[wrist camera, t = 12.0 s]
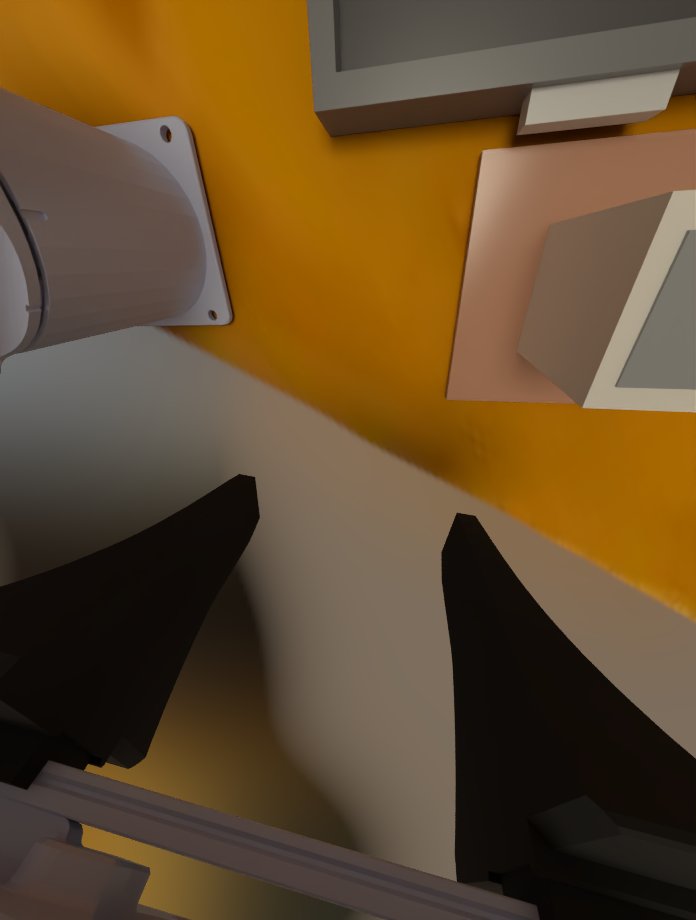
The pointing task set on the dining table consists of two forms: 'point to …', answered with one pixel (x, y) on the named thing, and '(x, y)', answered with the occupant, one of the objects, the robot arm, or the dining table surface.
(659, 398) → the block
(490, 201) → the terracotta tile
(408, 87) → the equipment case
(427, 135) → the dining table surface
